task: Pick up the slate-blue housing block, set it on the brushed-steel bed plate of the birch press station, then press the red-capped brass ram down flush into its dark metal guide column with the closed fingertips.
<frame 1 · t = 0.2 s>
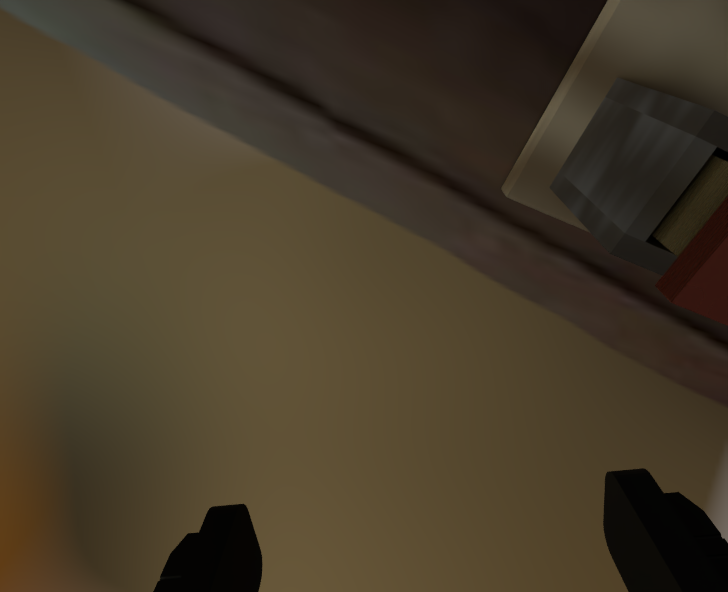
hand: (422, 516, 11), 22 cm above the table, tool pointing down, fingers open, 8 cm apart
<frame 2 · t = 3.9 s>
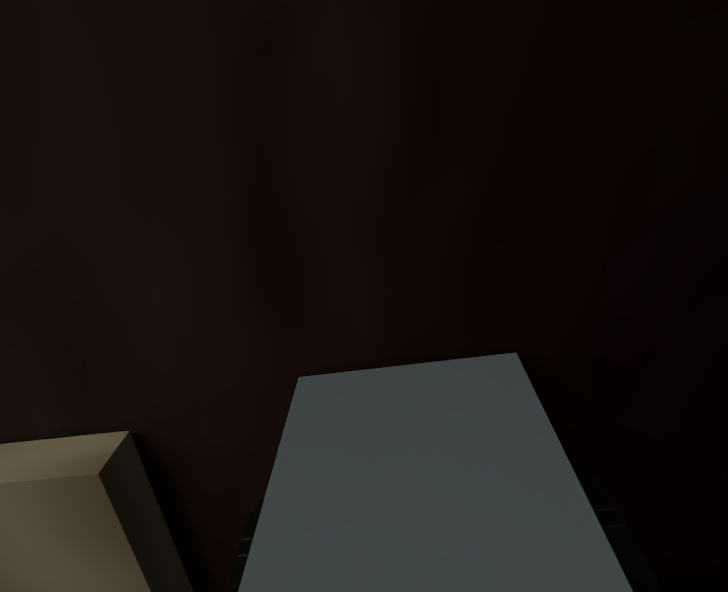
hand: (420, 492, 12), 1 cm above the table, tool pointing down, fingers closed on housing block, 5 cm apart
housing block: (419, 467, 13), on the table, touching gripper
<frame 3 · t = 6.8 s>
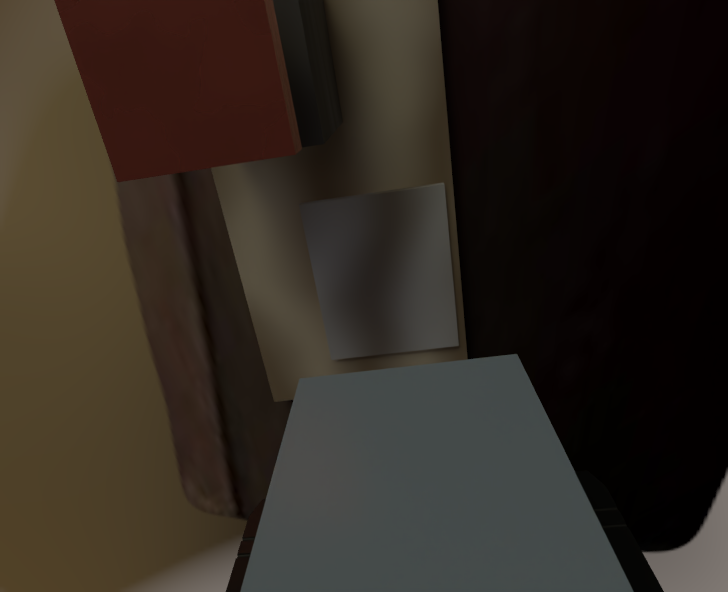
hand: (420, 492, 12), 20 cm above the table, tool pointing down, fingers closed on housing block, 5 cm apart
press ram: (216, 67, 17), point 11 cm above the table, slide at 0.0 cm
press station: (339, 200, 30), on the table
housing block: (420, 468, 13), point 20 cm above the table, touching gripper
when the fingers open (4 cm above the table, at t = 9.8 s): housing block drops 1 cm, resting on press station.
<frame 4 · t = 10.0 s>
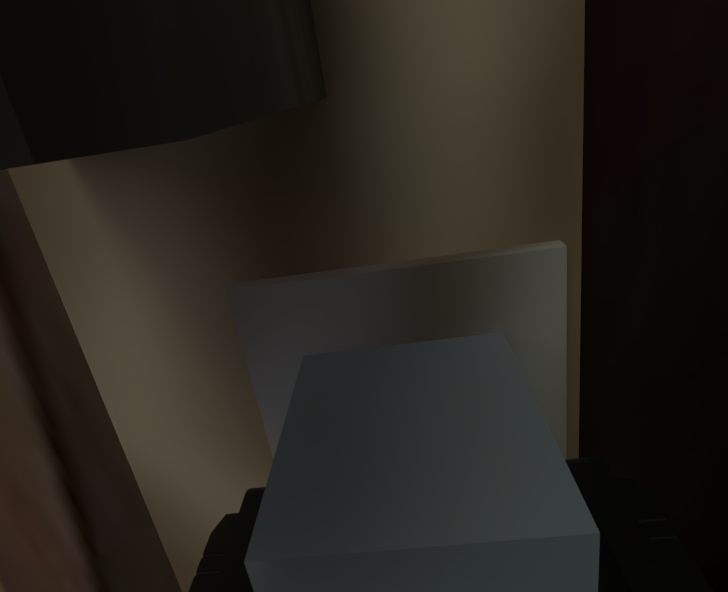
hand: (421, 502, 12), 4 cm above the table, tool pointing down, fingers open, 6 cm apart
press station: (321, 270, 14), on the table
housing block: (415, 441, 14), point 2 cm above the table, touching press station
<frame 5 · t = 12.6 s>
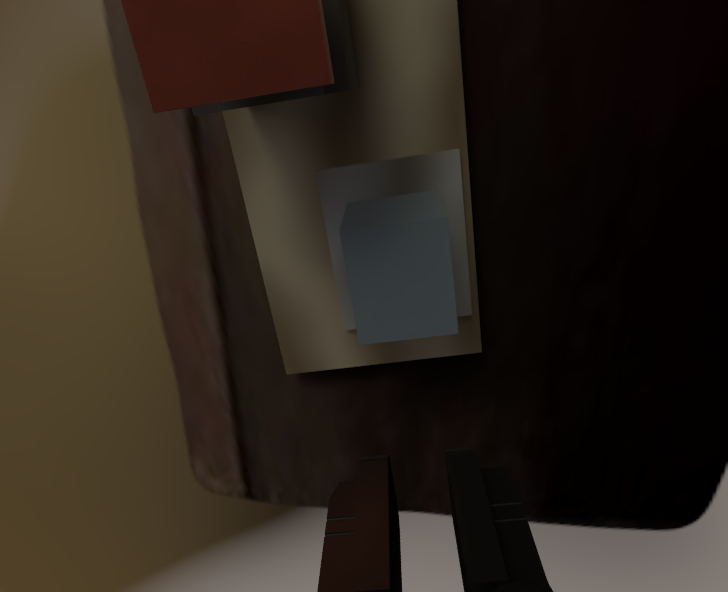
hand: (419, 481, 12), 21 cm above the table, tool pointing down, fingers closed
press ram: (248, 10, 18), point 11 cm above the table, slide at 0.0 cm
press station: (353, 169, 30), on the table
housing block: (397, 246, 30), point 2 cm above the table, touching press station
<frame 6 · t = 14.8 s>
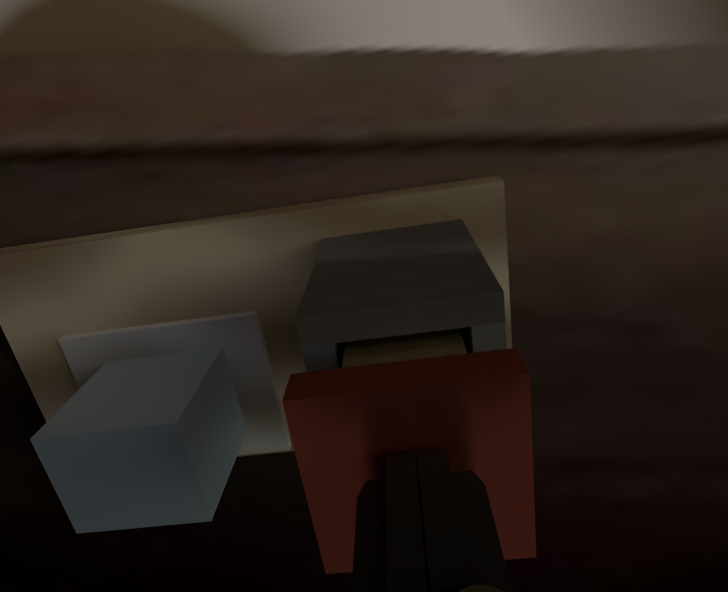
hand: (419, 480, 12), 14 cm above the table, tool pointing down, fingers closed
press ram: (410, 400, 16), point 10 cm above the table, slide at 0.3 cm, touching gripper
press station: (263, 334, 27), on the table
housing block: (178, 397, 26), point 2 cm above the table, touching press station
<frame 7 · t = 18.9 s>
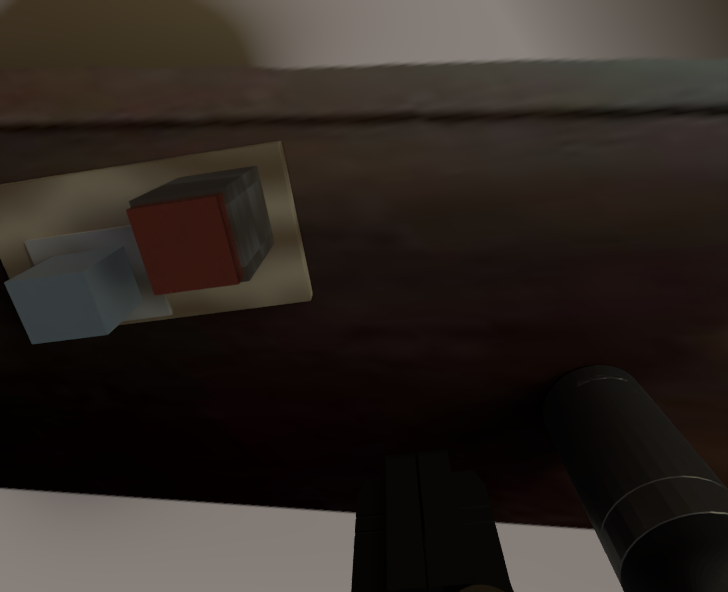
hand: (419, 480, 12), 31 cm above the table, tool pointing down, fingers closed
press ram: (202, 232, 35), point 8 cm above the table, slide at 3.0 cm
press station: (153, 242, 43), on the table
housing block: (99, 279, 42), point 2 cm above the table, touching press station
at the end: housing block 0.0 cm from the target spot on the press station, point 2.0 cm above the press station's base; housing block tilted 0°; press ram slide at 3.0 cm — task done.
